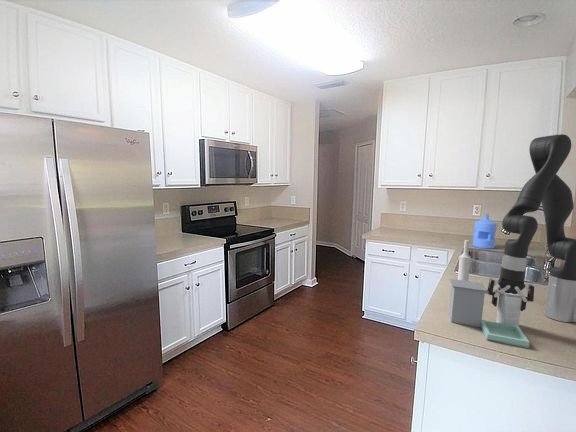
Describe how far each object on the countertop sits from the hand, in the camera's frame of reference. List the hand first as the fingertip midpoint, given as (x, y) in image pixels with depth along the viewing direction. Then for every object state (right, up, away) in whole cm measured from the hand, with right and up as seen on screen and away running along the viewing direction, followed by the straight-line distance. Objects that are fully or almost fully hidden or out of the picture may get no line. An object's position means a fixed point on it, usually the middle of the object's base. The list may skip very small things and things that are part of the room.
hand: (507, 308), depth 117 cm
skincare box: (0, -7, +1) cm, 7 cm away
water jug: (+80, +9, +140) cm, 162 cm away
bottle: (+6, -2, +40) cm, 41 cm away
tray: (-8, -8, -8) cm, 13 cm away
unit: (-15, -6, +4) cm, 16 cm away
